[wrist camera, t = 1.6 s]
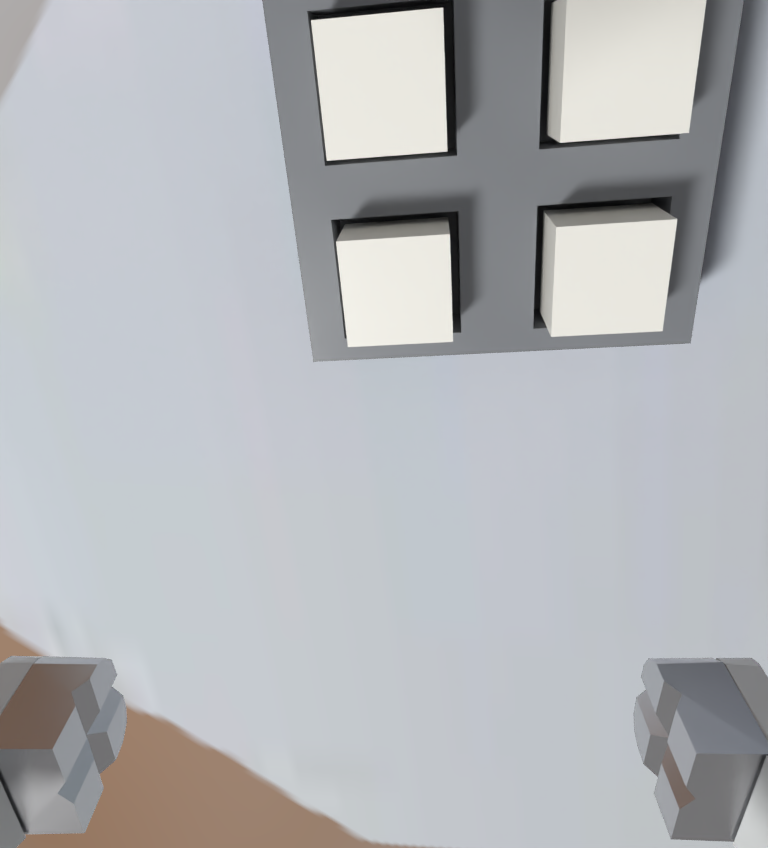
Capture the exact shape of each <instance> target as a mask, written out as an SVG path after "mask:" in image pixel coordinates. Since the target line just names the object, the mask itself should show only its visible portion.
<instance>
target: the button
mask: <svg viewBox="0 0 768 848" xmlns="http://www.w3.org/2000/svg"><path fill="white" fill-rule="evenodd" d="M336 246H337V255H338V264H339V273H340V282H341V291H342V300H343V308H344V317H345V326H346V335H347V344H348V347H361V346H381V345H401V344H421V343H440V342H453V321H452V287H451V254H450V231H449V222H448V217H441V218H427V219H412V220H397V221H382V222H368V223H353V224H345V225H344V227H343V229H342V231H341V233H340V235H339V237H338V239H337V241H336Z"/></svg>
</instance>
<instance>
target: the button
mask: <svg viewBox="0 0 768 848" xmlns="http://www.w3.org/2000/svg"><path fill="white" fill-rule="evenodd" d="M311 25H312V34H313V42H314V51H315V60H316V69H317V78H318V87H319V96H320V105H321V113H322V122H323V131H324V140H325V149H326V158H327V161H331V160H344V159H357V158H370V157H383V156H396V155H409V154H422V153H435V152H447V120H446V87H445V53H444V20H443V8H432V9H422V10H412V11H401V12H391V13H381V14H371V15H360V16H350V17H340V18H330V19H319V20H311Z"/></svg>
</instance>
